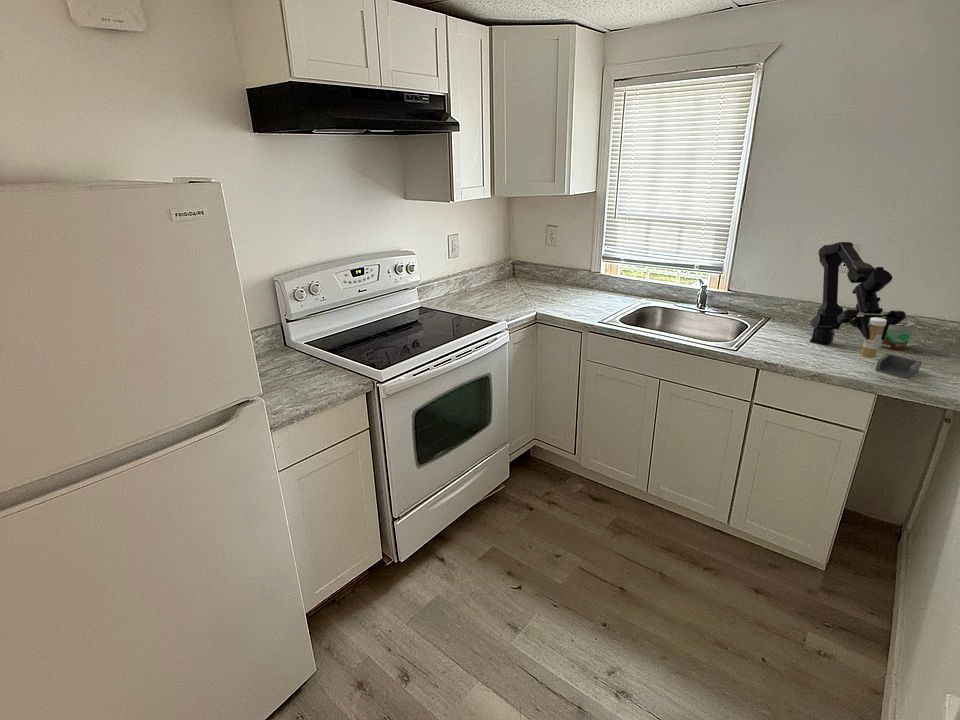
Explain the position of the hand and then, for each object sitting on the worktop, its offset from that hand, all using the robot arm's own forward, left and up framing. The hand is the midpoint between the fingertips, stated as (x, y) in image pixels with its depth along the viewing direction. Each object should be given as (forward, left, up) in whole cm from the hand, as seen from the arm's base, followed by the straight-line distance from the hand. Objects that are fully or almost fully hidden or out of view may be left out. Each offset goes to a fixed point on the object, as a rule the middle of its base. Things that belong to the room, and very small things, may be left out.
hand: (875, 339), depth 174 cm
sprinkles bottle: (-1, +1, -7) cm, 7 cm away
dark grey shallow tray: (+6, +12, -13) cm, 19 cm away
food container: (-1, +39, -13) cm, 42 cm away
